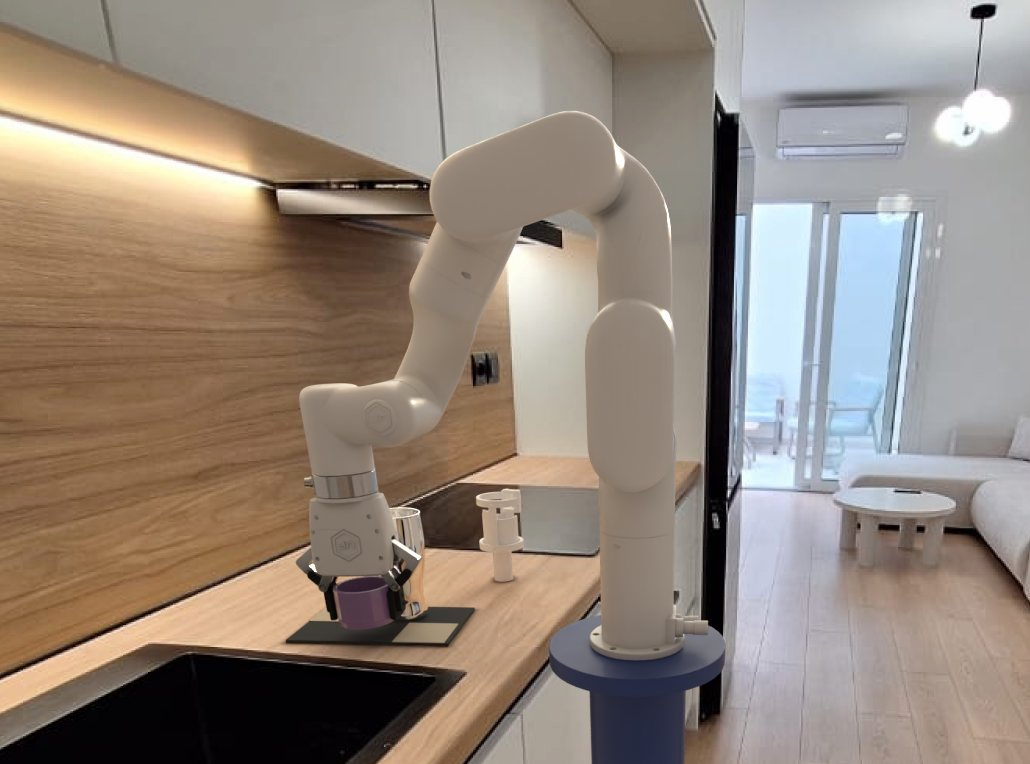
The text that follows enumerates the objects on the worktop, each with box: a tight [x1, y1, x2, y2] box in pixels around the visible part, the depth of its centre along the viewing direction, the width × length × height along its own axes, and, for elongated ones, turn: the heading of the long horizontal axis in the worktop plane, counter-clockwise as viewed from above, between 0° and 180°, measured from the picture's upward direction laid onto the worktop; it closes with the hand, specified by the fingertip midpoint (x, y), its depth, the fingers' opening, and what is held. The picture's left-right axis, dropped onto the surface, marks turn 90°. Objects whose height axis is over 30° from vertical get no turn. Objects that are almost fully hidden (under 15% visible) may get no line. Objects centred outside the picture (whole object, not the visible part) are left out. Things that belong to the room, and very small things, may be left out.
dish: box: [333, 576, 394, 630], centre depth 108 cm, size 7×7×5 cm
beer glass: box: [389, 507, 429, 621], centre depth 114 cm, size 7×7×15 cm
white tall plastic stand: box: [475, 488, 525, 583], centre depth 131 cm, size 7×7×15 cm
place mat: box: [285, 606, 476, 647], centre depth 114 cm, size 22×14×1 cm, turn 87°
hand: (367, 615), depth 108 cm, fingers closed on dish, 7 cm apart
